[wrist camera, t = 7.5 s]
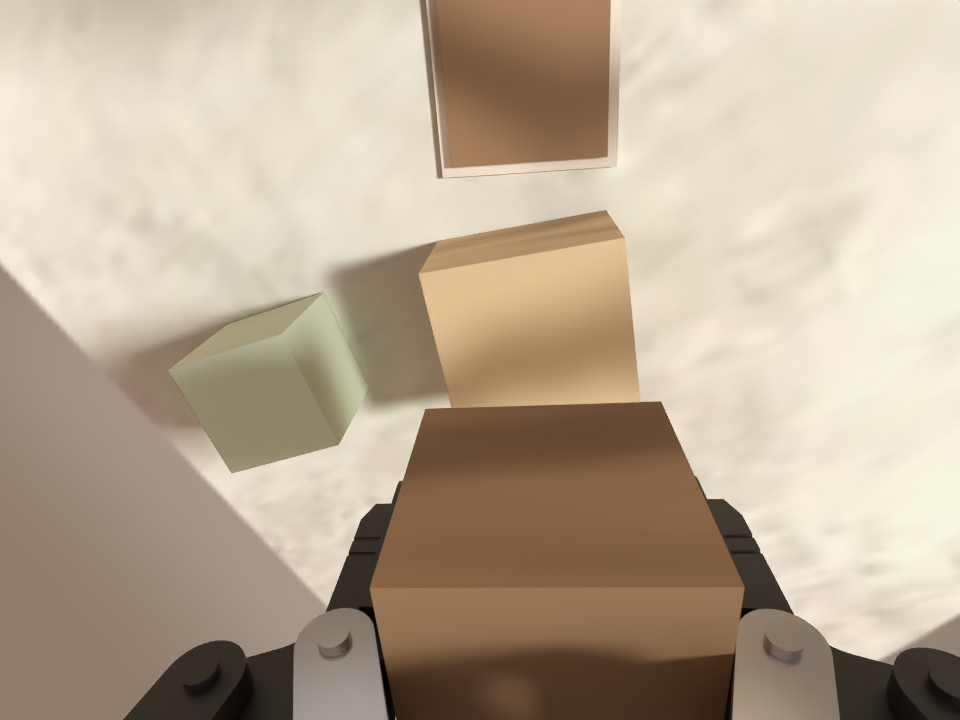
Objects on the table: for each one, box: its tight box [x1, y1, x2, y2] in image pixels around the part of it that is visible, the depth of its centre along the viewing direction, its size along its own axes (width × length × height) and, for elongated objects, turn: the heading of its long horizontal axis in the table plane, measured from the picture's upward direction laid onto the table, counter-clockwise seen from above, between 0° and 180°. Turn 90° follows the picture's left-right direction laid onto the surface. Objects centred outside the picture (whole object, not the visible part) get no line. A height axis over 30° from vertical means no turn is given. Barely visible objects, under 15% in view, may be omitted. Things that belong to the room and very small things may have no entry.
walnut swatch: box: [426, 0, 621, 178], centre depth 21 cm, size 7×7×1 cm
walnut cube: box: [370, 402, 745, 720], centre depth 11 cm, size 5×5×5 cm
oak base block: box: [419, 210, 640, 408], centre depth 23 cm, size 7×7×5 cm
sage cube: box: [168, 292, 369, 473], centre depth 25 cm, size 5×5×5 cm
